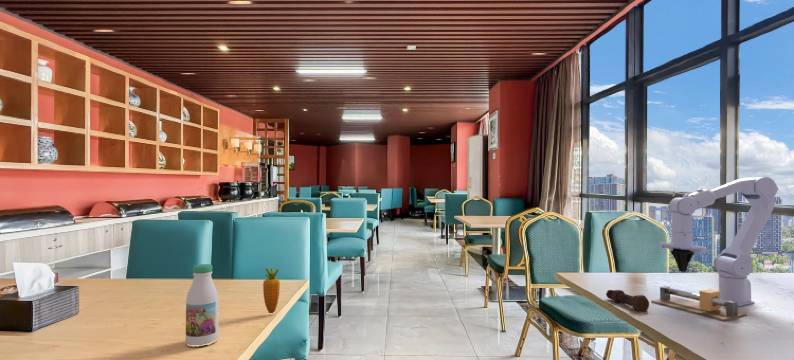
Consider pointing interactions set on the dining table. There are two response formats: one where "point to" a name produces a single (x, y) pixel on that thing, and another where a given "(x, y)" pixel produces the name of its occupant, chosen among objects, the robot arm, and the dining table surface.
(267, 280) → the carrot
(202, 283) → the milk bottle
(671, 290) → the rail
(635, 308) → the bolt
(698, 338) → the dining table surface
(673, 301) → the board
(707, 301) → the collar
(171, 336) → the dining table surface
